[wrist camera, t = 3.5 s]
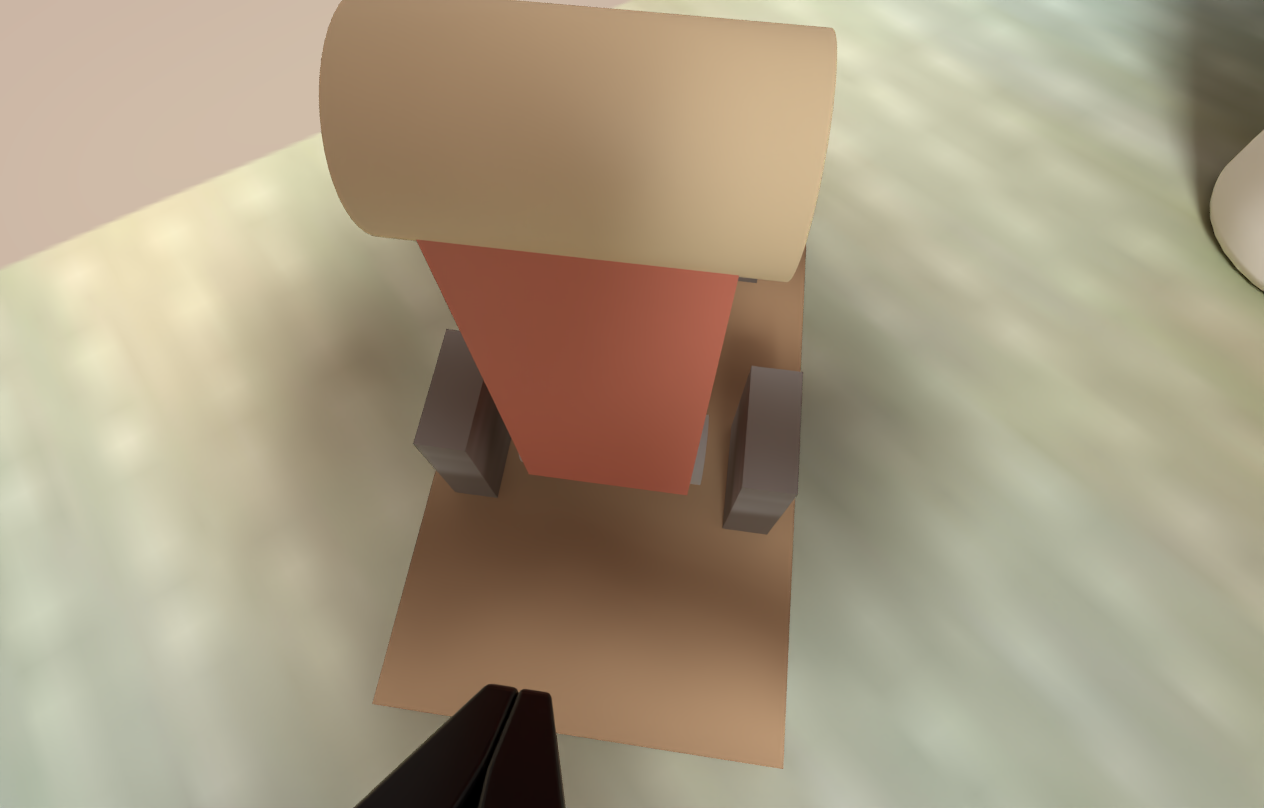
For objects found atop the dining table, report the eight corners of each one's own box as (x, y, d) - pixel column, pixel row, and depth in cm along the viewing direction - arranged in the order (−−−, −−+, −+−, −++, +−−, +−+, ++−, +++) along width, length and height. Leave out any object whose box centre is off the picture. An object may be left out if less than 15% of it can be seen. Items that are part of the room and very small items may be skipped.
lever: (707, 513, 17) (834, 166, 6) (510, 487, 18) (287, 112, 6) (716, 415, 18) (839, -32, 7) (531, 392, 19) (373, -69, 8)
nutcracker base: (773, 764, 17) (824, 787, 12) (388, 703, 18) (300, 704, 13) (803, 160, 25) (840, 38, 20) (538, 133, 26) (516, 10, 21)
